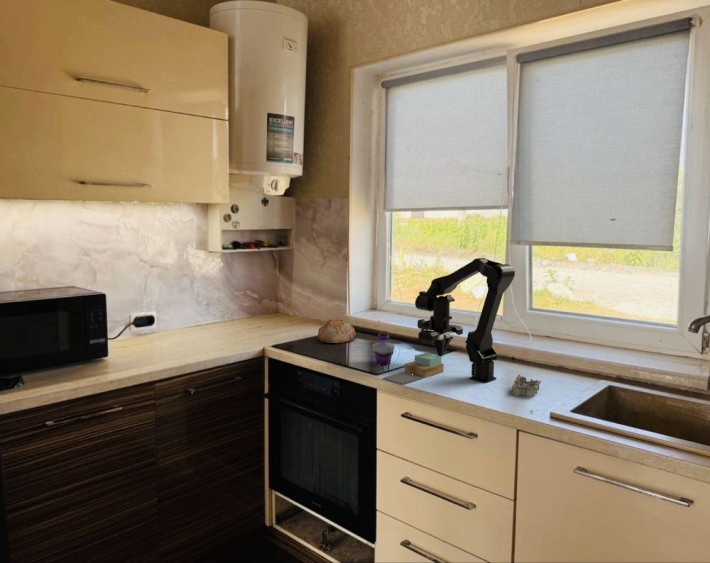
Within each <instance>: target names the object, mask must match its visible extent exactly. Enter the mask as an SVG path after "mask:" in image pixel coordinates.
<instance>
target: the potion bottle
mask: <svg viewBox="0 0 710 563" xmlns="http://www.w3.org/2000/svg"><path fill="white" fill-rule="evenodd" d="M377 340H379V342H376V343H373V344H372V349H373V354H374V356H375V364H376V363H377V364H380V365H379V366H388V365H387V364H390V363H391V361H392V356H393V355H394V351H395V344H394V343H390V342H388V340H390V334H389V331H387V330H380V331H378V334H377ZM377 364H376V365H377ZM390 365H391V364H390Z"/></svg>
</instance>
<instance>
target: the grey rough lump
mask: <svg viewBox="0 0 710 563" xmlns="http://www.w3.org/2000/svg"><path fill="white" fill-rule="evenodd" d="M541 383H542V380H537V379H536V380H533V379H532V378H531V379H530V380H527V378H526V376H522V375H521V374H518V375H517V376H516V378H515V379H514V381H513V382H512V385H511V388H512V394H513V393H514V395H515V396H521V395H522V396H525V395H526V396H525V397H527V398H531V397H532V396H535V397H536V394H538V391H540V384H541ZM532 398H533V397H532Z"/></svg>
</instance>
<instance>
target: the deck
mask: <svg viewBox="0 0 710 563" xmlns="http://www.w3.org/2000/svg"><path fill="white" fill-rule="evenodd" d="M404 372H405V373H409V374H413V375H416V376H420V377H423V379H426V377H427V378H429V377H433V376H436V375H438V374H442V373H444V363H443V362H441V363H440V364H437V365H433V366H427V365H423V364H419V363H415V360H414V361H411V362H407V363H405V364H404Z"/></svg>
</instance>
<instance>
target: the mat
mask: <svg viewBox="0 0 710 563" xmlns="http://www.w3.org/2000/svg"><path fill="white" fill-rule="evenodd" d="M422 379H424V378H423V377H420V376H416V375H412V374H409V373H405V371H401V372H398V373H394V374H391V375H388V376H384V377H382V380H385V381H388V382H392V383H395V384H398V385H402V386H403V385H404V386H405V385H407V383H408V384H410V382H411V383H414V382H417V381H420V380H422ZM413 381H414V382H413Z"/></svg>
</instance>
